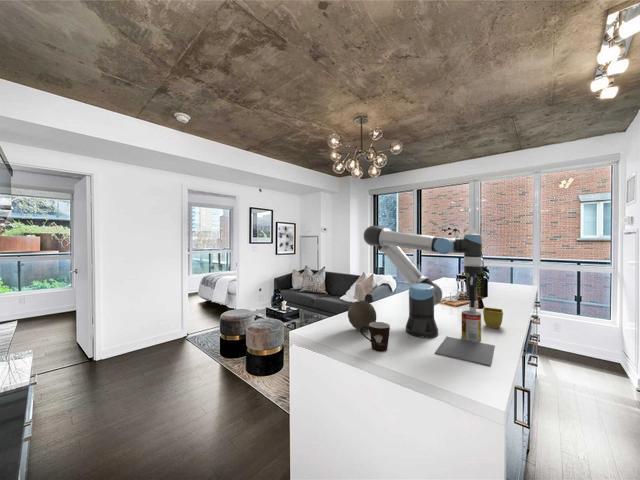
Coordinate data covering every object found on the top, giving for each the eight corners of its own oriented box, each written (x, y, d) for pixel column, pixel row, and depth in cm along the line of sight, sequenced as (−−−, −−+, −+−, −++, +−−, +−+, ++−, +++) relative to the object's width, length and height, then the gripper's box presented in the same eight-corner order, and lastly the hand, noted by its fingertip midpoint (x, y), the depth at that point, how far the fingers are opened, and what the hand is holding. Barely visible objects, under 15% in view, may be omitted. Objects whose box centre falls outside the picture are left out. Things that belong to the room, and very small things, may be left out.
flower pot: (502, 325, 145) (502, 309, 145) (503, 330, 137) (503, 312, 137) (483, 323, 149) (483, 307, 149) (483, 327, 142) (482, 310, 142)
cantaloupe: (353, 325, 146) (353, 297, 146) (379, 328, 140) (379, 299, 140) (343, 333, 133) (343, 302, 133) (372, 337, 127) (372, 305, 127)
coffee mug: (394, 348, 114) (393, 324, 114) (383, 354, 107) (382, 329, 108) (370, 341, 122) (370, 319, 122) (359, 346, 116) (359, 323, 116)
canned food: (477, 336, 129) (477, 310, 129) (483, 342, 121) (483, 315, 121) (459, 334, 131) (459, 310, 131) (464, 340, 123) (464, 314, 123)
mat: (434, 353, 108) (434, 352, 108) (446, 337, 127) (446, 336, 127) (490, 366, 97) (490, 365, 97) (494, 346, 116) (494, 345, 116)
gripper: (480, 266, 125) (480, 318, 125) (482, 264, 136) (482, 312, 135) (462, 266, 129) (462, 315, 129) (465, 264, 140) (465, 309, 140)
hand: (472, 313), depth 132 cm, fingers closed
